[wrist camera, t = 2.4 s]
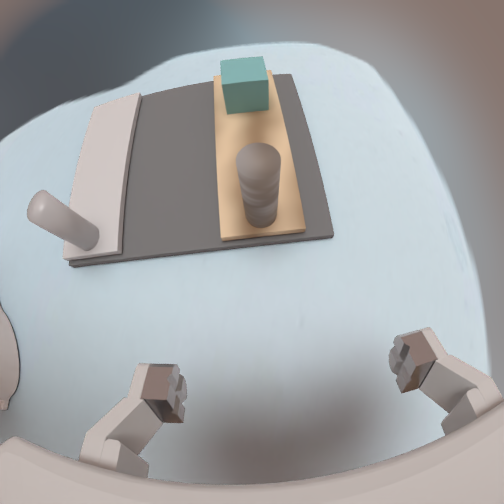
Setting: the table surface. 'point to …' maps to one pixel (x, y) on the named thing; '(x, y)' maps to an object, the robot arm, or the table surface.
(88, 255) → the pale board with post
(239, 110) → the teal block
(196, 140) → the lane mat
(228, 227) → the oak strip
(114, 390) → the table surface
